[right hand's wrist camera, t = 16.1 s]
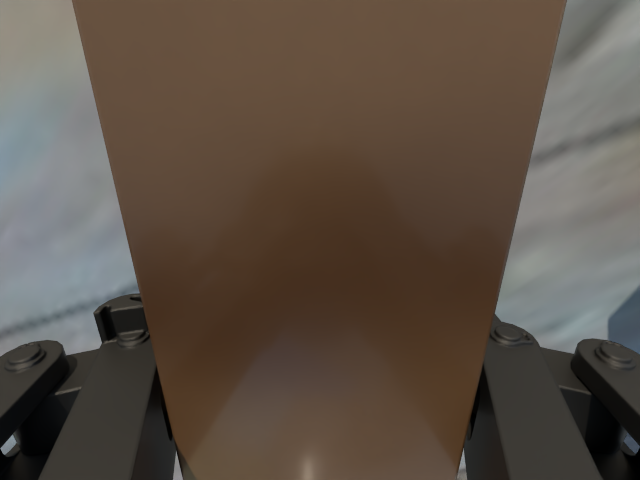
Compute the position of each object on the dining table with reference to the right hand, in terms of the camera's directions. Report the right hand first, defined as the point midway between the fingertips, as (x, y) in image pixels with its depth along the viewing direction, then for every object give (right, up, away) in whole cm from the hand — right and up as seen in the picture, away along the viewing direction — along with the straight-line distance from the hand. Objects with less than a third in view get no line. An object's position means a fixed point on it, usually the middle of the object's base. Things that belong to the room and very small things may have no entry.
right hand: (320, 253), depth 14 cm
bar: (0, +9, -3) cm, 9 cm away
